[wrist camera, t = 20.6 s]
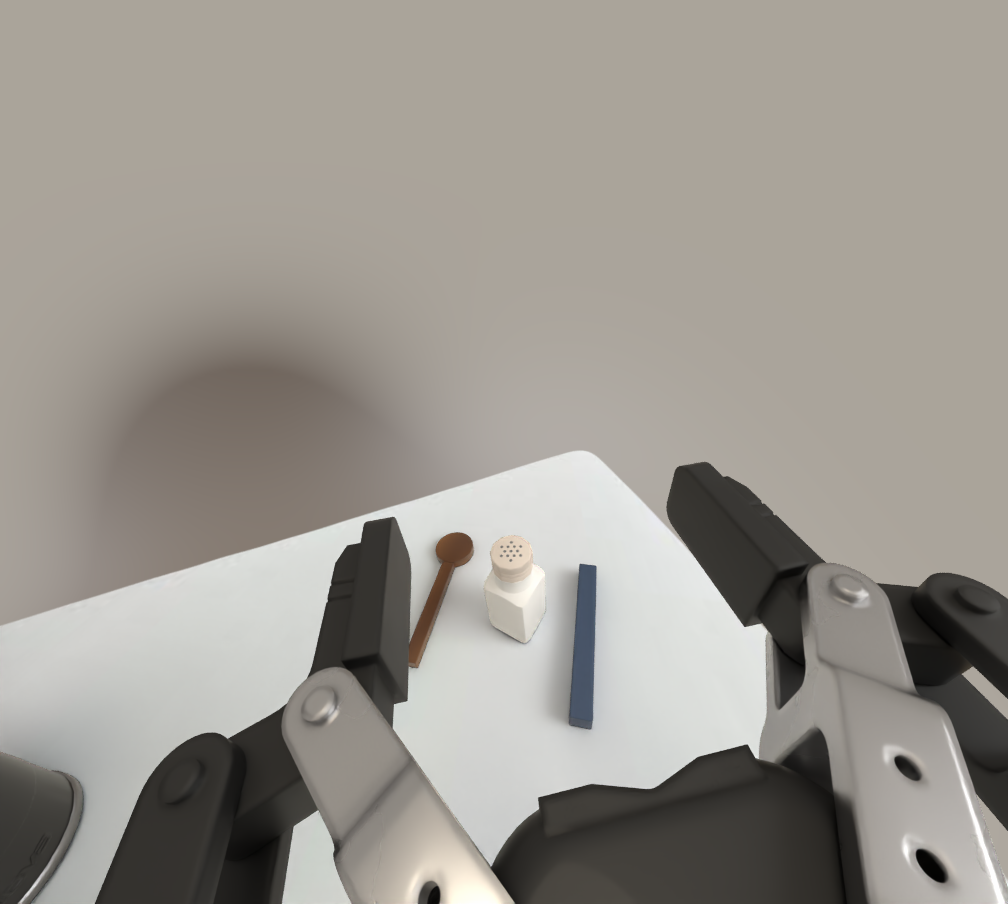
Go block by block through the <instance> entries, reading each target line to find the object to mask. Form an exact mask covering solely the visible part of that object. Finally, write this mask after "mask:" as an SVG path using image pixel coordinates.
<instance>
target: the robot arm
mask: <svg viewBox="0 0 1008 904" xmlns="http://www.w3.org/2000/svg"><path fill="white" fill-rule="evenodd" d="M667 514H668V518H669V520H670V522H671V524H672V526H673V527H674V529H675V530H676V531H677V533H678V534H679V536H680V537H681V539H682V540H683V541H684V543H685V544H686V546H687V547H688V548H689V550H690V551H691V553H692V554H693V555H694V557H695V558H696V560H697V561H698V562H699V564H700V565H701V567H702V568H703V569H704V571H705V572H706V574H707V575H708V576H709V578H710V579H711V581H712V582H713V583H714V585H715V586H716V588H717V589H718V590H719V592H720V593H721V595H722V596H723V597H724V599H725V600H726V602H727V603H728V604H729V606H730V607H731V609H732V610H733V611H734V613H735V614H736V616H737V617H738V619H739V620H740V621H741V623H742V624H743V626H744V627H747V626H752V625H756V624H761V623H763V625H764V626H765V627H766V629H767V630H768V633H767V635H766V640H765V642H766V691H767V714H766V720H765V724H764V727H763V730H762V734H761V738H760V746H759V759H756V758H755V757H754V755H753V753H752V751H751V750H750V748H749V746H748V744H747V745H743V746H739V747H735V748H731V749H727V750H723V751H719V752H716V753H712V754H708V755H704V756H700V757H697V758H696V759H695V760H693V761H692V762H690V763H689V764H688V765H686V766H685V767H684V768H682V769H681V770H679V771H678V772H677V773H675V774H674V775H672V776H671V777H670V778H668V779H667V780H666V781H664V782H663V783H661V784H660V785H659V786H657V787H655V788H653V789H639V788H628V787H617V786H607V785H596V784H590V785H586V786H582V787H578V788H574V789H570V790H566V791H562V792H559V793H555V794H551V795H547V796H543V797H539V798H538V801H539V810H537V811H536V812H535V813H533V814H532V815H530V816H529V817H528V818H527V819H526V820H524V821H523V822H522V823H521V824H520V825H519V826H518V827H517V828H516V829H515V831H514V832H513V833H512V834H511V836H510V837H509V838H508V839H507V841H506V842H505V844H504V845H503V847H502V848H501V850H500V852H499V853H498V855H497V857H496V859H495V861H494V863H493V865H492V867H491V866H490V865H489V863H488V862H487V861H486V859H485V858H484V856H483V855H482V854H481V852H480V851H479V849H478V848H477V847H476V845H475V844H474V842H473V841H472V839H471V838H470V837H469V835H468V834H467V832H466V831H465V830H464V828H463V827H462V825H461V824H460V823H459V821H458V820H457V818H456V817H455V816H454V814H453V813H452V811H451V810H450V809H449V807H448V806H447V804H446V803H445V802H444V800H443V799H442V797H441V796H440V795H439V793H438V792H437V790H436V789H435V788H434V786H433V785H432V783H431V782H430V781H429V779H428V778H427V776H426V775H425V773H424V772H423V771H422V769H421V768H420V766H419V765H418V764H417V762H416V761H415V759H414V758H413V757H412V755H411V754H410V752H409V751H408V750H407V748H406V747H405V745H404V744H403V742H402V741H401V740H400V738H399V737H398V735H397V734H396V733H395V731H394V730H393V710H394V704H396V703H401V702H405V701H407V699H408V666H409V632H410V598H411V564H410V558H409V554H408V550H407V548H406V545H405V542H404V540H403V537H402V534H401V531H400V529H399V526H398V523H397V521H396V519H395V517H390V518H385V519H379V520H374V521H368V522H365V524H364V527H363V532H362V538H361V543H358V544H353V545H347V547H346V548H345V550H344V551H343V553H342V554H341V556H340V557H339V559H338V560H337V562H336V563H335V567H334V572H333V576H332V580H331V586H330V589H329V594H328V598H327V599H328V602H327V603H326V607H325V611H324V616H323V620H322V625H321V629H320V633H319V638H318V642H317V647H316V651H315V656H314V660H313V664H312V667H311V671H310V673H309V675H308V677H307V679H306V680H305V681H304V682H303V683H302V684H301V685H300V686H299V687H298V688H297V689H296V690H295V692H294V693H293V694H292V696H291V697H290V699H289V701H288V703H287V704H286V705H284V706H283V707H282V708H281V709H279V710H278V711H276V712H275V713H273V714H271V715H270V716H268V717H266V718H264V719H262V720H261V721H259V722H257V723H255V724H254V725H252V726H250V727H248V728H246V729H245V730H243V731H241V732H239V733H237V734H236V735H234V736H232V737H230V738H228V739H227V738H226V737H224V736H223V735H221V734H218V733H204V734H200V735H198V736H195V737H193V738H191V739H189V740H187V741H185V742H184V743H182V744H181V745H179V746H178V747H177V748H176V749H174V750H173V751H172V752H171V753H170V754H169V755H168V756H167V757H166V758H164V759H163V761H162V762H161V763H160V764H159V765H158V766H157V767H156V769H155V770H154V771H153V773H152V774H151V776H150V777H149V779H148V780H147V782H146V784H145V785H144V787H143V789H142V791H141V793H140V795H139V798H138V800H137V803H136V805H135V807H134V810H133V812H132V815H131V817H130V820H129V822H128V824H127V827H126V829H125V832H124V834H123V837H122V839H121V841H120V844H119V846H118V849H117V851H116V853H115V856H114V858H113V861H112V863H111V866H110V868H109V870H108V873H107V875H106V878H105V880H104V883H103V885H102V887H101V890H100V892H99V895H98V897H97V900H96V902H95V904H282V898H283V891H284V885H285V879H286V872H287V866H288V859H289V853H290V846H291V840H292V833H293V827H294V826H295V825H296V824H298V823H299V822H301V821H302V820H304V819H305V818H307V817H308V816H310V815H311V814H313V813H314V812H316V811H317V810H319V812H320V814H321V816H322V819H323V821H324V823H325V825H326V827H327V829H328V831H329V833H330V835H331V838H332V840H333V843H334V853H333V857H334V862H335V866H336V869H337V872H338V875H339V877H340V880H341V882H342V884H343V886H344V889H345V891H346V893H347V895H348V897H349V899H350V901H351V903H352V904H1008V887H1007V884H1006V881H1005V878H1004V875H1003V872H1002V869H1001V867H1000V863H999V860H998V858H997V855H996V852H995V849H994V846H993V843H992V840H991V837H990V834H989V831H988V828H987V825H986V822H985V819H984V816H983V813H982V810H981V807H980V804H979V801H978V798H977V796H976V794H977V795H978V796H979V798H980V799H981V800H982V801H983V802H984V803H985V805H986V806H987V807H988V808H989V809H990V811H991V812H992V813H993V814H994V815H995V816H996V818H997V819H998V820H999V821H1000V822H1001V823H1002V824H1003V826H1004V827H1005V828H1006V830H1007V831H1008V719H1006V718H1005V717H1004V716H1003V715H1002V714H1001V713H1000V712H999V711H998V710H997V709H996V708H995V707H994V706H993V705H992V704H991V703H990V702H989V701H988V700H987V699H986V698H985V697H984V696H983V695H982V694H981V693H980V692H979V691H978V690H977V689H976V688H975V687H974V686H973V685H972V684H971V683H970V682H969V681H968V680H967V679H966V678H965V677H964V676H963V675H962V673H964V672H965V671H967V670H968V669H970V668H971V667H973V666H974V667H975V668H976V669H977V670H978V671H979V672H980V673H981V674H982V675H983V676H984V677H985V678H986V679H987V680H988V681H989V682H991V683H992V684H993V685H994V686H995V687H996V688H997V689H998V690H999V691H1000V692H1001V693H1002V694H1003V695H1004V696H1005V697H1006V698H1007V699H1008V599H1007V598H1006V597H1004V596H1003V595H1001V594H1000V593H999V592H997V591H995V590H994V589H992V588H990V587H989V586H986V585H985V584H983V583H980V582H978V581H976V580H974V579H971V578H968V577H965V576H961V575H957V574H952V573H936V574H933V575H931V576H930V577H928V578H927V579H926V580H925V581H924V582H923V583H922V584H921V585H920V586H919V587H911V586H901V585H890V584H879V583H875V582H874V581H873V580H871V579H870V578H869V577H867V576H866V575H864V574H862V573H861V572H858V571H857V570H855V569H852V568H849V567H847V566H844V565H840V564H836V563H826V562H825V561H824V560H823V559H821V558H820V557H819V556H818V555H817V554H816V553H815V552H814V551H813V550H812V549H811V548H810V547H809V546H808V545H807V544H806V543H805V542H804V541H803V540H802V539H800V537H798V536H797V535H796V534H795V533H794V532H793V531H792V530H791V529H790V528H789V527H788V526H787V525H786V524H785V523H784V522H783V521H782V520H781V519H780V518H779V517H778V516H776V515H773V512H772V511H771V510H770V509H769V508H768V507H767V506H766V505H765V504H762V503H761V500H760V499H759V498H758V497H757V496H756V495H755V494H754V493H752V491H751V490H750V489H749V488H747V487H746V486H744V485H742V484H741V483H739V482H737V481H735V480H734V479H732V478H730V477H728V476H726V477H723V476H722V475H721V474H720V473H719V472H718V471H717V470H716V469H715V468H714V467H713V466H711V464H709V463H707V462H701V463H695V464H690V465H684V466H679V467H677V469H676V470H675V473H674V477H673V482H672V485H671V489H670V493H669V497H668V501H667ZM82 807H83V791H82V787H81V785H80V783H79V782H78V780H77V779H76V778H74V777H73V776H71V775H69V774H66V773H63V772H60V771H53V770H48V769H45V768H43V767H40V766H37V765H35V764H32V763H29V762H27V761H25V760H22V759H20V758H17V757H14V756H11V755H9V754H6V753H3V752H0V904H30V903H31V901H32V900H33V899H34V898H35V896H36V895H37V894H38V893H39V891H40V890H41V889H42V887H43V886H44V885H45V883H46V882H47V881H48V879H49V878H50V876H51V875H52V873H53V872H54V870H55V869H56V867H57V866H58V864H59V862H60V861H61V859H62V857H63V856H64V854H65V852H66V850H67V848H68V846H69V844H70V842H71V840H72V838H73V836H74V834H75V831H76V829H77V826H78V823H79V820H80V816H81V813H82Z"/></svg>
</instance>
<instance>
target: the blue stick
mask: <svg viewBox="0 0 1008 904" xmlns="http://www.w3.org/2000/svg"><path fill="white" fill-rule="evenodd" d="M595 608H596V566H594V565H586V564H580V565H579V580H578V595H577V610H576V625H575V640H574V655H573V670H572V685H571V700H570V715H569V724H570V725H573V726H578V727H582V728H587V729H591V728H592V722H593V688H594V648H595Z"/></svg>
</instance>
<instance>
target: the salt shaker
mask: <svg viewBox="0 0 1008 904" xmlns="http://www.w3.org/2000/svg"><path fill="white" fill-rule="evenodd" d="M490 555H491V561H492V567H493V570H492V571H491V572H490V574H489V575H488V577H487V579H486V580H485V583H484V593H485V598H486V603H487V608H488V613H489V618H490V622H491V624H492V625H493V626H494V627H496V628H497V629H499V630H501V631H503V632H504V633H506V634H508V635H509V636H511V637H513V638H515V639H516V640H518V641H520V642H522V643H527V642H528V641H529V640H530V639H531V637H532V635H533V634H534V632H535V630H536V628H537V627H538V625H539V623H540V621H541V619H542V618H543V616H544V614H545V612H546V597H545V573H544V571H543V570H542V569H541V568H540V567H539V566H537V565H535V564H534V563H533V553H532V549H531V546H530V543H529V542H527V541H526V540H525V539H524V538H522V537H519V536H513V535H510V536H506V537H502V538H500V539H499V540H498V541H496V542H495V543H494V544H493V546H492V549H491V551H490Z"/></svg>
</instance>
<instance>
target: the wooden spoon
mask: <svg viewBox="0 0 1008 904" xmlns="http://www.w3.org/2000/svg"><path fill="white" fill-rule="evenodd" d="M473 552H474V547H473V542H472V540H471V538H470V537H469V536H468V535H466V534H464V533H459V532H456V533H450V534H448V535H446V536H444V537H443V538H442V539H440V541H439V542H438V544H437V546H436V555H437V558H438V560H439V562H440V563H441V564H442V565H441V567H440V570H439V572H438V575H437V577H436V580H435V582H434V585H433V587H432V590H431V592H430V594H429V597H428V599H427V602H426V604H425V607H424V609H423V612H422V614H421V617H420V619H419V622H418V624H417V626H416V629H415V631H414V634H413V636H412V639H411V641H410V644H409V666H410V667H415V668H418V666H419V663H420V660H421V658H422V655H423V652H424V650H425V647H426V644H427V642H428V639H429V636H430V634H431V631H432V628H433V625H434V623H435V620H436V617H437V615H438V612H439V609H440V607H441V604H442V601H443V599H444V596H445V593H446V590H447V588H448V585H449V582H450V580H451V577H452V574H453V572H454V569H455V567H458V566H461V565H464V564H465V563H467V562H468V561H469V560H470V559H471V557H472V555H473Z"/></svg>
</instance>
